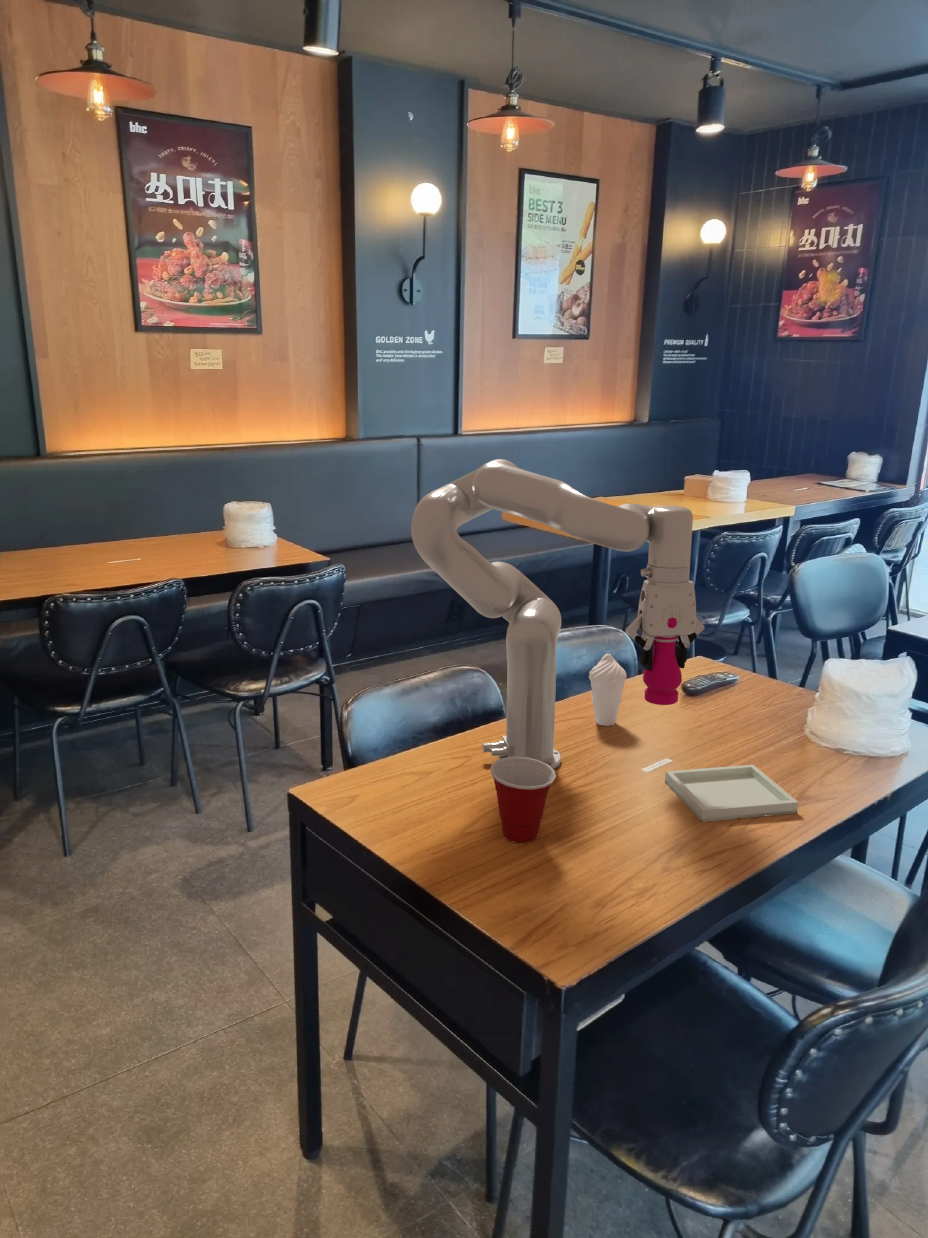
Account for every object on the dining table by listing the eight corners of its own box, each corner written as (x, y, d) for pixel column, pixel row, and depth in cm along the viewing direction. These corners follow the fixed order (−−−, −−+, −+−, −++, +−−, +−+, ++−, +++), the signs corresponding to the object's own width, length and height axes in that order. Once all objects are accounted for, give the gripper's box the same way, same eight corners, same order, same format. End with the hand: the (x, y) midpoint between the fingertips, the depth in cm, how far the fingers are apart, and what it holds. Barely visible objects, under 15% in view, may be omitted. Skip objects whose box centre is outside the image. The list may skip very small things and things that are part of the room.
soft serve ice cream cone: (626, 730, 192) (631, 660, 188) (588, 729, 192) (592, 660, 188) (620, 716, 200) (624, 649, 196) (584, 715, 200) (587, 648, 196)
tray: (702, 822, 151) (703, 810, 151) (665, 782, 167) (665, 771, 166) (797, 813, 155) (798, 802, 154) (752, 775, 170) (753, 764, 169)
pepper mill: (684, 706, 164) (691, 602, 158) (645, 706, 164) (651, 602, 159) (675, 693, 171) (681, 593, 165) (638, 693, 171) (643, 593, 166)
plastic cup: (535, 858, 139) (537, 789, 136) (477, 840, 145) (477, 773, 142) (564, 830, 148) (567, 765, 145) (508, 814, 154) (510, 750, 151)
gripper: (631, 580, 156) (627, 676, 160) (721, 576, 159) (714, 670, 164) (616, 572, 163) (612, 664, 167) (702, 568, 166) (696, 658, 171)
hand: (663, 666), depth 165 cm, fingers closed on pepper mill, 5 cm apart
